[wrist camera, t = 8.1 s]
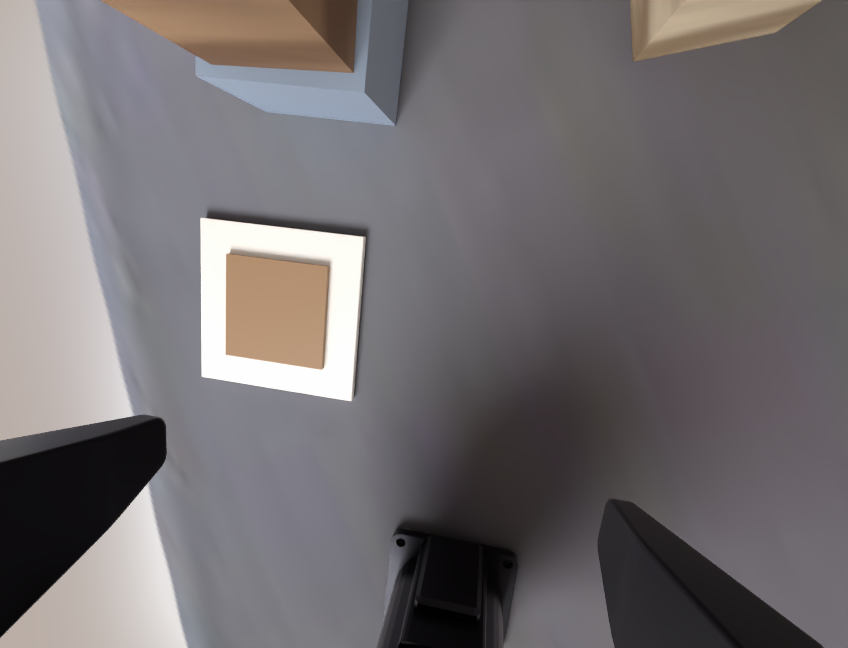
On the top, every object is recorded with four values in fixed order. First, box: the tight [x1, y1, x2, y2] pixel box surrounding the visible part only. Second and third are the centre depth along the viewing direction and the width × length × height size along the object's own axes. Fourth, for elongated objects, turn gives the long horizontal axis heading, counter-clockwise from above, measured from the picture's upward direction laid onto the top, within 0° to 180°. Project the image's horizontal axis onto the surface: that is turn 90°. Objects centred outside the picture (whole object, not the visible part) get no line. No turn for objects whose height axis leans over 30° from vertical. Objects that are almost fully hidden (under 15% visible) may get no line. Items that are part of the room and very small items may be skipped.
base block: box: [196, 0, 409, 126], centre depth 17 cm, size 6×6×5 cm
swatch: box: [201, 218, 366, 401], centre depth 21 cm, size 8×8×1 cm
